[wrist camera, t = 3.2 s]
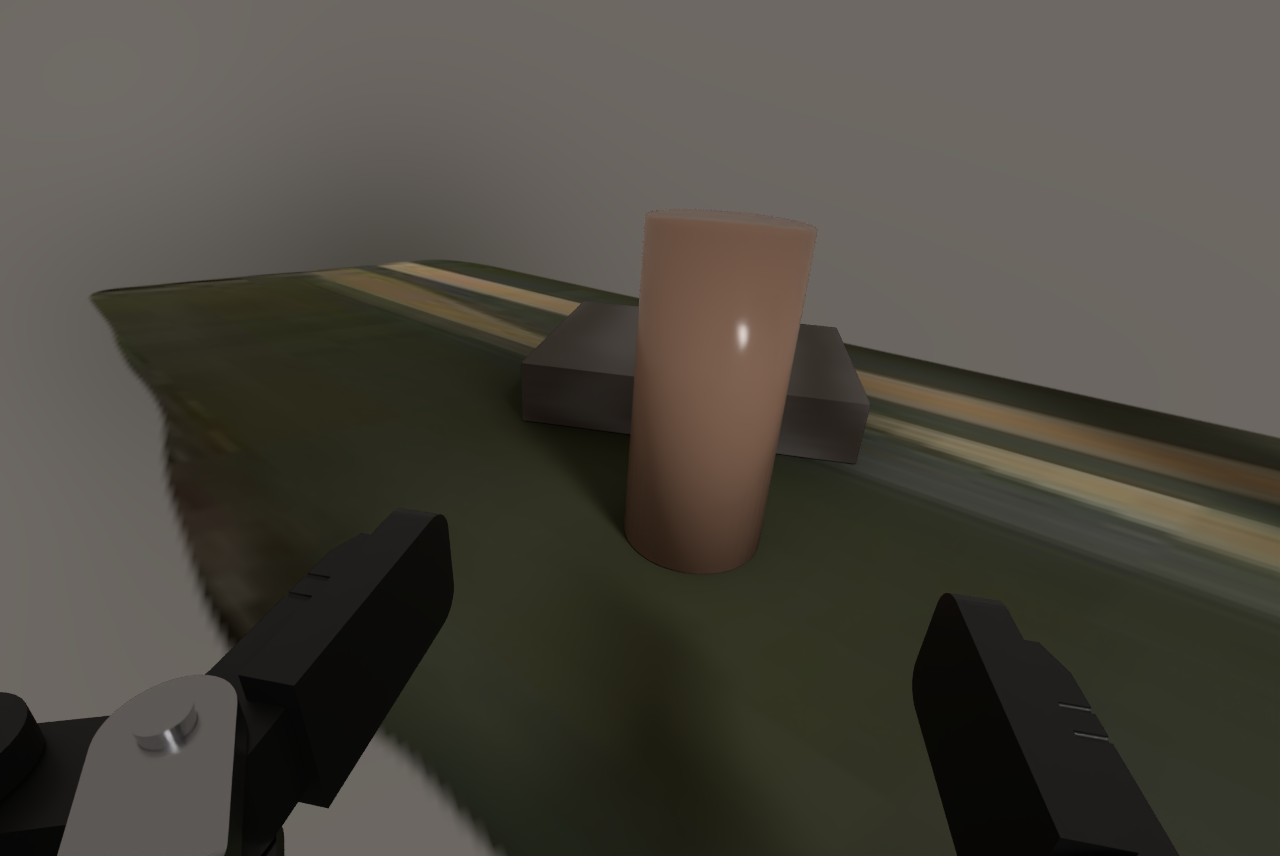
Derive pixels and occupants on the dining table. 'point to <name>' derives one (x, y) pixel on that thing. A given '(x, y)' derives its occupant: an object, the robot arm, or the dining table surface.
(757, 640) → the dining table surface
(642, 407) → the terracotta cylinder
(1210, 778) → the dining table surface
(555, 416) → the plinth
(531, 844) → the dining table surface
